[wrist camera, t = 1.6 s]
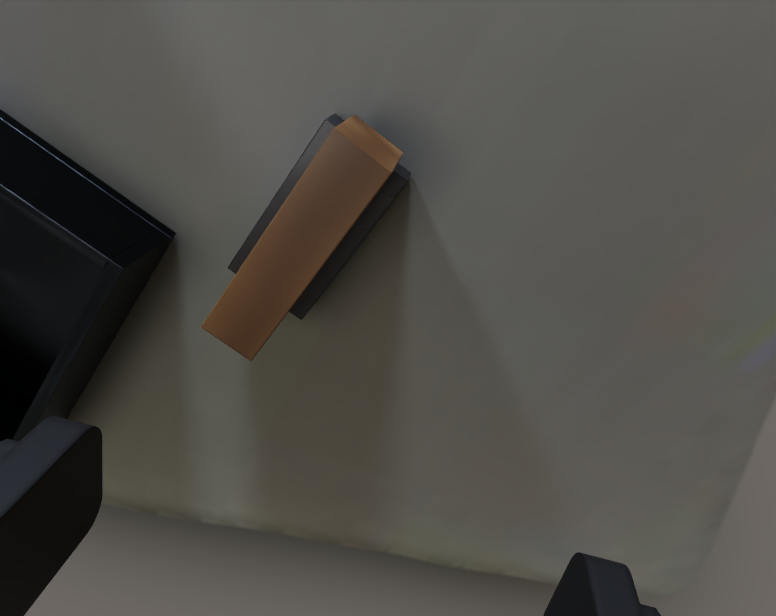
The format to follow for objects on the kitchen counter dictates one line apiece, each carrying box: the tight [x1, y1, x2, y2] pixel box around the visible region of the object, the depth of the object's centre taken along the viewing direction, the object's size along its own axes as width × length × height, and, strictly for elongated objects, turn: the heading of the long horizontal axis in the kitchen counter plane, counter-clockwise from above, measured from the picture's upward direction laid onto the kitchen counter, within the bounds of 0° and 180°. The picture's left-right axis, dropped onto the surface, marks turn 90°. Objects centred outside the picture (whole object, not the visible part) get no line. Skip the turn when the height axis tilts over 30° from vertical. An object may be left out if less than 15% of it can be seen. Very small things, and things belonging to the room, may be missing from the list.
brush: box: [201, 114, 411, 361], centre depth 30 cm, size 5×12×6 cm, turn 143°
